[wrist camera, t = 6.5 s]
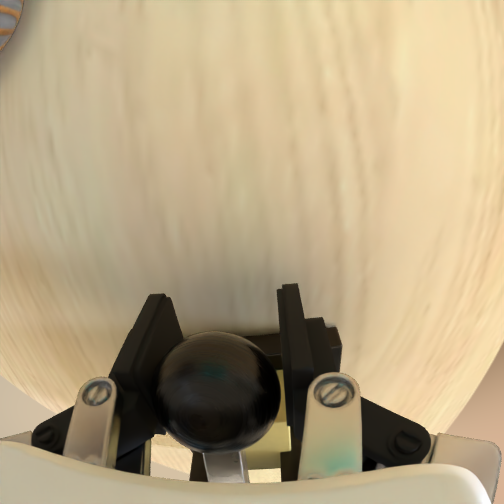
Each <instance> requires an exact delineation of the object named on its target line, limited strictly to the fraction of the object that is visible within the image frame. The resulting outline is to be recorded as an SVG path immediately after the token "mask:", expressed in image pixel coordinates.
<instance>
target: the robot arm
mask: <svg viewBox="0 0 504 504" xmlns="http://www.w3.org/2000/svg"><path fill="white" fill-rule="evenodd" d="M277 300H278V313H279V326H280V339H281V353H282V366H283V379H284V393H285V407H286V422H287V426H293V430H294V434H295V438H297V439H298V440H300V441H301V442H302V449H301V457H300V464H299V472H298V479H297V481H290V482H274V483H212V482H196V481H184V480H175V479H166V478H159V477H152V476H150V463H151V438H152V437H154V434H162V435H166V430H165V429H164V428H163V426H162V425H161V423H160V422H159V420H158V418H157V416H156V413H155V411H154V407H153V403H152V396H151V386H152V380H153V375H154V372H155V369H156V367H157V365H158V363H159V362H160V360H161V358H162V357H163V356H164V354H165V353H166V352H167V351H168V350H169V349H170V348H171V347H172V346H174V345H175V344H176V343H177V342H179V341H181V340H182V339H184V338H183V335H182V332H181V329H180V326H179V323H178V319H177V316H176V313H175V310H174V306H173V303H172V300H171V298H170V297H167V296H166V295H165V294H164V293H163V294H150V295H149V296H148V298H147V300H146V302H145V304H144V306H143V308H142V310H141V312H140V314H139V316H138V318H137V320H136V322H135V324H134V326H133V328H132V329H131V330H130V332H129V334H128V336H127V338H126V340H125V342H124V344H123V346H122V348H121V350H120V352H119V354H118V357H117V359H116V361H115V363H114V365H113V367H112V370H111V372H110V374H109V376H108V378H107V377H96V378H93V379H91V380H89V381H87V382H86V383H85V384H84V385H83V386H82V387H81V388H80V390H79V393H78V396H77V399H76V403H75V405H74V406H72V407H70V408H68V409H67V410H65V411H63V412H61V413H59V414H57V415H55V416H53V417H52V418H50V419H48V420H46V421H44V422H43V423H41V424H39V425H38V426H37V427H36V428H35V429H34V431H33V433H32V432H31V431H27V432H24V433H20V434H16V435H12V436H8V437H5V438H0V504H493V501H494V497H495V493H496V488H497V483H498V478H499V472H500V466H501V451H500V449H499V447H498V446H497V445H496V444H495V443H493V442H490V441H485V440H478V439H471V438H465V437H459V436H453V435H448V434H443V433H438V434H437V435H432V434H429V433H428V431H427V430H426V429H425V428H424V427H423V426H421V425H419V424H418V423H415V422H413V421H411V420H409V419H407V418H404V417H402V416H400V415H398V414H396V413H394V412H392V411H389V410H387V409H385V408H383V407H381V406H379V405H377V404H375V403H373V402H371V401H369V400H367V399H365V398H363V397H361V396H360V389H359V385H358V383H357V382H356V381H355V379H353V378H352V377H350V376H349V375H346V374H343V373H338V372H337V370H336V366H335V362H334V358H333V354H332V350H331V346H330V342H329V338H328V334H327V330H326V327H325V323H324V320H323V318H322V317H319V318H309V319H305V318H304V313H303V308H302V303H301V298H300V293H299V288H298V284H297V283H294V284H284V285H282V289H277Z"/></svg>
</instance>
